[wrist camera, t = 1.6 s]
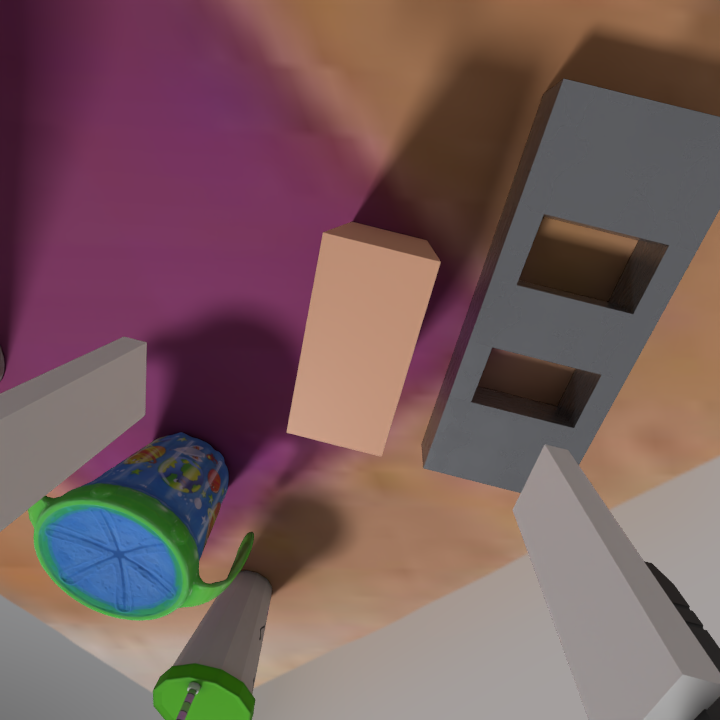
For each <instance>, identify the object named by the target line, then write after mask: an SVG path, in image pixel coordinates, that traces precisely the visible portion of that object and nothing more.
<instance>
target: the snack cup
mask: <svg viewBox="0 0 720 720" xmlns="http://www.w3.org/2000/svg"><path fill="white" fill-rule="evenodd" d="M228 481H229V474H228V468H227V466H226V465H225V463H224V457H223V456H222V454H221V453H220V452H219V451H215V450H214V449H213V448H212V447H211V446H210V445H209V444H208V443H207V442H204V441H202V440H200V439H198V438H193V437H190V436H189V435H187V434H185V433H182V432H180V433H177V434H174V435H169V436H165V437H161V438H158V439H156V440H154V441H153V442H151V443H150V444H148V445H147V446H145V447H144V448H142V449H140V450H139V451H137V452H136V453H134V454H133V455H131V456H130V457H128V458H127V459H125V460H124V461H122V462H121V463H119V464H117V465H116V466H115V467H113V468H111V469H110V470H108V471H107V472H105V473H104V474H103V475H102V476H100V477H98V478H97V479H95V480H94V481H92V482H90V483H87V484H85V485H83V486H81V487H78V488H76V489H73V490H71V491H69V492H67V493H66V494H64V495H63V496H61V497H57V498H51V497H47V496H44V497H43V498H42V499H40V500H39V501H38V502H37V503H35V504H34V505H33V506H32V507H30V508H29V509H28V512H29V519H30V521H31V522H32V524H33V526H34V528H35V529H34V547H35V550H36V554H37V557H38V559H39V561H40V563H41V565H42V567H43V568H44V570H45V571H46V572H47V574H48V575H49V576H50V578H51V579H52V580H53V581H54V582H55V583H56V584H57V585H58V586H59V587H60V588H61V589H62V590H63V591H64V592H66V593H67V594H68V595H69V596H71V597H72V598H73V599H75V600H76V601H78V602H80V603H81V604H83V605H85V606H87V607H88V608H91V609H93V610H95V611H97V612H99V613H102V614H105V615H108V616H112V617H116V618H120V619H127V620H152V619H157V618H160V617H163V616H165V615H168V614H170V613H171V612H173V611H174V610H176V609H177V608H181V607H192V606H196V605H200V604H204V603H206V602H209V601H210V600H212V599H214V598H215V597H217V596H218V595H220V594H221V593H222V592H223V591H224V590H225V589H226V588H227V587H228V586H229V585H230V584H231V583H232V581H233V580H234V579H235V577H236V576H237V575H238V573H239V572H240V571H241V569H242V567H243V566H244V564H245V562H246V560H247V558H248V556H249V554H250V551H251V549H252V545H253V541H254V534H253V532H249V533H247V535H246V536H245V537H244V539H243V541H242V543H241V545H240V547H239V549H238V552H237V556H236V558H235V561H234V563H233V566H232V568H231V570H230V573H229V575H228V577H227V579H226V580H224V581H220V582H215V583H212V584H208V583H205V582H203V581H202V579H201V578H200V576H199V560H200V558H201V555H202V552H203V550H204V547H205V545H206V542H207V540H208V537H209V535H210V533H211V530H212V528H213V525H214V523H215V520H216V518H217V515H218V513H219V510H220V507H221V503H222V501H223V499H224V498H225V494H226V492H227V489H228Z"/></svg>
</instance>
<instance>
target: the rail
mask: <svg viewBox="0 0 720 720" xmlns="http://www.w3.org/2000/svg"><path fill="white" fill-rule="evenodd" d="M719 210H720V117H718V116H714V115H710V114H706V113H702V112H698V111H694V110H689V109H685V108H681V107H677V106H673V105H669V104H665V103H661V102H657V101H653V100H649V99H645V98H641V97H637V96H632V95H628V94H624V93H620V92H616V91H612V90H608V89H604V88H600V87H596V86H592V85H588V84H584V83H580V82H575V81H571V80H567V79H563V80H561V81H560V82H559V83H557V84H556V85H555V86H553V87H552V88H551V89H550V90H548V91H547V92H546V93H544V94H543V97H542V100H541V102H540V105H539V108H538V111H537V114H536V117H535V120H534V123H533V125H532V128H531V131H530V134H529V137H528V140H527V143H526V146H525V148H524V151H523V154H522V157H521V160H520V163H519V166H518V169H517V171H516V174H515V177H514V180H513V183H512V186H511V189H510V192H509V194H508V197H507V200H506V203H505V206H504V209H503V212H502V215H501V217H500V220H499V223H498V226H497V229H496V232H495V235H494V238H493V240H492V243H491V246H490V249H489V252H488V255H487V258H486V260H485V263H484V266H483V269H482V272H481V275H480V278H479V281H478V283H477V286H476V289H475V292H474V295H473V298H472V301H471V304H470V306H469V309H468V312H467V315H466V318H465V321H464V324H463V327H462V329H461V332H460V335H459V338H458V341H457V344H456V347H455V350H454V352H453V355H452V358H451V361H450V364H449V367H448V370H447V373H446V375H445V378H444V381H443V384H442V387H441V390H440V393H439V396H438V398H437V401H436V404H435V407H434V410H433V413H432V416H431V419H430V421H429V424H428V427H427V430H426V433H425V436H424V439H423V441H422V444H421V445H422V458H423V468H424V469H428V470H432V471H436V472H440V473H444V474H448V475H452V476H456V477H460V478H464V479H468V480H472V481H476V482H479V483H483V484H487V485H491V486H495V487H499V488H503V489H507V490H511V491H515V492H519V493H521V492H522V490H523V488H524V486H525V484H526V482H527V480H528V477H529V475H530V473H531V471H532V469H533V467H534V465H535V463H536V461H537V459H538V457H539V455H540V453H541V451H542V449H543V447H544V445H545V444H546V445H550V446H554V447H558V448H562V449H566V450H568V451H569V452H570V453H571V455H572V456H573V458H574V459H575V461H576V462H577V464H578V465H579V464H580V462H581V460H582V458H583V457H584V455H585V453H586V451H587V449H588V448H589V446H590V444H591V442H592V440H593V438H594V437H595V435H596V433H597V431H598V429H599V428H600V426H601V424H602V422H603V420H604V418H605V417H606V415H607V413H608V411H609V409H610V408H611V406H612V404H613V402H614V400H615V398H616V397H617V395H618V393H619V391H620V389H621V388H622V386H623V384H624V382H625V380H626V378H627V377H628V375H629V373H630V371H631V369H632V368H633V366H634V364H635V362H636V360H637V359H638V357H639V355H640V353H641V351H642V349H643V348H644V346H645V344H646V342H647V340H648V339H649V337H650V335H651V333H652V331H653V329H654V328H655V326H656V324H657V322H658V320H659V319H660V317H661V315H662V313H663V311H664V309H665V308H666V306H667V304H668V302H669V300H670V299H671V297H672V295H673V293H674V291H675V289H676V288H677V286H678V284H679V282H680V280H681V279H682V277H683V275H684V273H685V271H686V270H687V268H688V266H689V264H690V262H691V260H692V259H693V257H694V255H695V253H696V251H697V250H698V248H699V246H700V244H701V242H702V240H703V239H704V237H705V235H706V233H707V231H708V230H709V228H710V226H711V224H712V222H713V220H714V219H715V217H716V215H717V213H718V211H719ZM543 217H547V218H551V219H555V220H559V221H563V222H567V223H571V224H575V225H579V226H583V227H587V228H591V229H595V230H599V231H603V232H607V233H611V234H615V235H619V236H623V237H628V238H632V239H636V240H639V241H638V243H637V245H636V247H635V249H634V251H633V253H632V255H631V257H630V259H629V261H628V263H627V265H626V267H625V269H624V271H623V273H622V275H621V278H620V280H619V282H618V284H617V286H616V288H615V290H614V292H613V294H612V296H611V298H610V300H609V302H605V301H601V300H597V299H593V298H589V297H585V296H581V295H577V294H573V293H569V292H565V291H561V290H557V289H553V288H549V287H545V286H541V285H537V284H533V283H529V282H525V281H521V280H519V277H520V275H521V272H522V270H523V267H524V264H525V262H526V259H527V257H528V254H529V251H530V249H531V246H532V244H533V241H534V239H535V236H536V233H537V231H538V228H539V226H540V223H541V221H542V218H543ZM492 347H493V348H497V349H501V350H505V351H509V352H513V353H517V354H521V355H525V356H529V357H533V358H537V359H541V360H545V361H549V362H553V363H557V364H561V365H565V366H569V367H573V368H576V370H575V372H574V374H573V376H572V378H571V380H570V382H569V384H568V386H567V388H566V390H565V392H564V394H563V396H562V398H561V400H560V402H559V404H558V406H554V405H550V404H546V403H542V402H538V401H534V400H530V399H526V398H522V397H518V396H514V395H510V394H506V393H502V392H498V391H494V390H490V389H486V388H482V387H478V383H479V380H480V378H481V375H482V373H483V370H484V367H485V365H486V362H487V360H488V357H489V355H490V352H491V349H492Z"/></svg>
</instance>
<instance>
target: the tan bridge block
mask: <svg viewBox="0 0 720 720" xmlns="http://www.w3.org/2000/svg"><path fill="white" fill-rule="evenodd" d="M440 263H441V261H440V260H439V258H438V257H437V255H436V254H435V252H434V250H433V249H432V247H431V246H430V244H429V243H428V241H427V240H424V239H419V238H415V237H411V236H407V235H403V234H399V233H395V232H391V231H387V230H383V229H379V228H375V227H371V226H367V225H363V224H359V223H355V222H350V223H347V224H345V225H342V226H339V227H337V228H334V229H331V230H329V231H326V232H323V236H322V241H321V247H320V252H319V258H318V263H317V269H316V274H315V280H314V285H313V290H312V296H311V301H310V307H309V312H308V318H307V323H306V329H305V334H304V339H303V345H302V350H301V356H300V361H299V367H298V372H297V378H296V383H295V389H294V394H293V399H292V405H291V410H290V416H289V421H288V427H287V432H286V433H290V434H294V435H298V436H302V437H306V438H310V439H314V440H318V441H322V442H326V443H329V444H333V445H337V446H341V447H345V448H349V449H353V450H357V451H361V452H365V453H369V454H373V455H377V456H381V457H382V453H383V450H384V447H385V444H386V440H387V437H388V434H389V430H390V427H391V424H392V421H393V417H394V414H395V411H396V407H397V404H398V401H399V398H400V394H401V391H402V388H403V384H404V381H405V378H406V375H407V371H408V368H409V365H410V361H411V358H412V355H413V352H414V348H415V345H416V342H417V338H418V335H419V332H420V329H421V325H422V322H423V319H424V316H425V312H426V309H427V306H428V302H429V299H430V296H431V293H432V289H433V286H434V283H435V279H436V276H437V273H438V270H439V266H440Z"/></svg>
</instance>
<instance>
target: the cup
mask: <svg viewBox="0 0 720 720" xmlns="http://www.w3.org/2000/svg"><path fill="white" fill-rule="evenodd" d="M271 594H272V587H271V585H270V583H269V581H268V580H267V579H266V578H264V577H263V576H261V575H260V574H258V573H256V572H251V571H247V570H245V571H240V572H239V573H238V575H237V576H236V577H235V579H234V580H233V581H232V583H231V584H230V585H229V586H228V587H227V588H226V589H225V590H224V591H223V592H222V593H221V594H220V595H218V596H217V598H216V599H215V601H214V602H213V604H212V605H211V607H210V609H209V610H208V612H207V613H206V615H205V616H204V618H203V620H202V621H201V623H200V624H199V626H198V627H197V629H196V631H195V632H194V634H193V635H192V637H191V638H190V640H189V641H188V643H187V645H186V646H185V648H184V649H183V651H182V652H181V654H180V656H179V657H178V659H177V660H176V662H175V663H174V665H173V666H172V667H171V668H170V669H169V670H167V671H166V672H165V673H164V674H163V675H162V676H160V678H159V680H158V682H157V684H156V686H155V688H154V690H153V702H154V703H153V704H154V707H155V708H156V709H157V711H158V712H159V713H160V714H161V716H162V717H163V718H164V719H165V720H252V716H253V711H254V705H255V698H254V697H253V695H252V692H253V687H254V682H255V677H256V672H257V667H258V661H259V656H260V651H261V646H262V641H263V636H264V631H265V625H266V620H267V615H268V610H269V605H270V600H271Z"/></svg>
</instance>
